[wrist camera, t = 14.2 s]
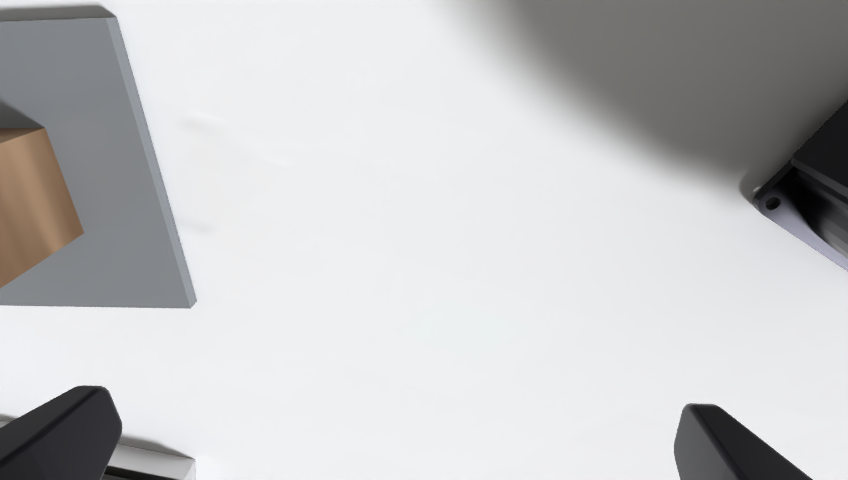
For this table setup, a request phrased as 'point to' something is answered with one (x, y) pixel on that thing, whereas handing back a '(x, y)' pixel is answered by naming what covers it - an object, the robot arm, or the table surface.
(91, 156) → the coaster
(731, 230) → the table surface
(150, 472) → the picture frame
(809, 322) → the table surface
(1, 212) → the block
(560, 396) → the table surface
